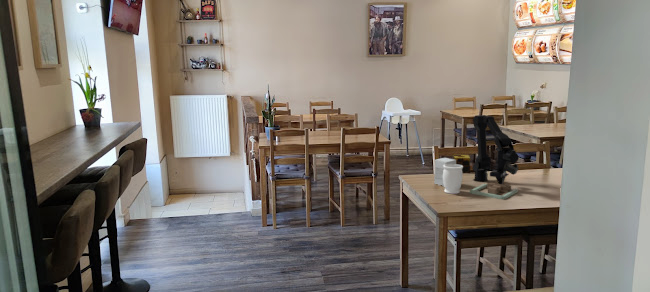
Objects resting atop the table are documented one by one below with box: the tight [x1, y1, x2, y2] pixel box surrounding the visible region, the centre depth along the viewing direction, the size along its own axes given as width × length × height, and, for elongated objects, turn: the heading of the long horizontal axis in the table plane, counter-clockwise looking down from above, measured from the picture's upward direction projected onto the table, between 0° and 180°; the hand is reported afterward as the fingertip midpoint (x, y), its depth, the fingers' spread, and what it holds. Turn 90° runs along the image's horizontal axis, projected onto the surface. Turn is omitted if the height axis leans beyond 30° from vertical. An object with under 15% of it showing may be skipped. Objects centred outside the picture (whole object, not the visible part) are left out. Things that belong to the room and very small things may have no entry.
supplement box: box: [433, 157, 456, 187], centre depth 280 cm, size 9×9×15 cm
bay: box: [469, 183, 519, 201], centre depth 263 cm, size 19×19×2 cm
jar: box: [443, 164, 464, 195], centre depth 264 cm, size 11×10×15 cm
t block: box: [486, 182, 512, 195], centre depth 265 cm, size 12×12×3 cm
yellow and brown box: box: [453, 154, 471, 174], centre depth 313 cm, size 10×10×10 cm
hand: (500, 186), depth 270 cm, fingers closed
